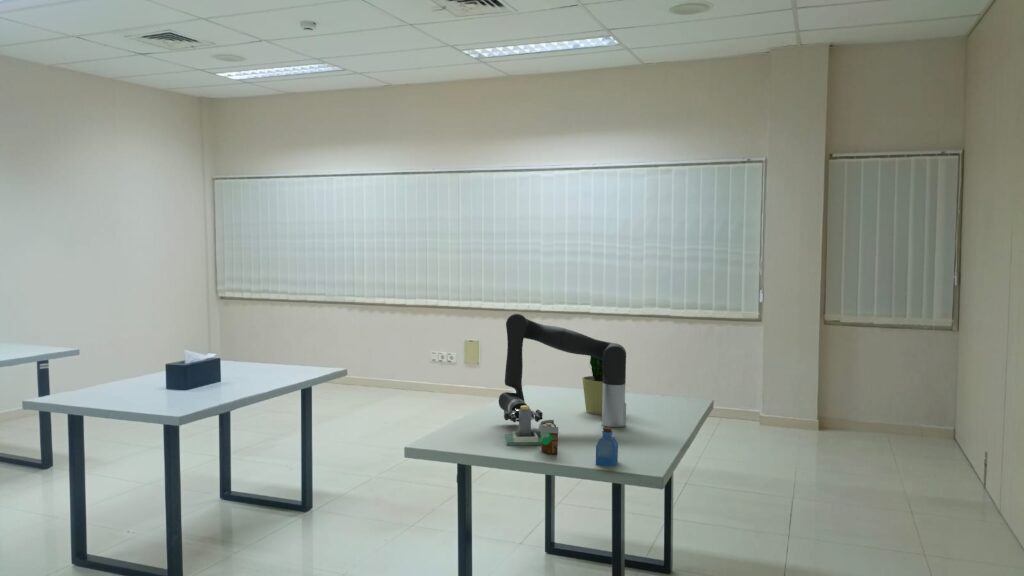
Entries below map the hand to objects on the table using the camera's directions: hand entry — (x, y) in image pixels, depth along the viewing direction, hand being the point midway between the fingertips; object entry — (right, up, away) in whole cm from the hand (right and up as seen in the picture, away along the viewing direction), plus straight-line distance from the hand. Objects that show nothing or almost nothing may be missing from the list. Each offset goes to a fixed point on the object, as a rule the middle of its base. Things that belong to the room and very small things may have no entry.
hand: (526, 419), depth 270 cm
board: (-1, -9, +4) cm, 10 cm away
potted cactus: (+33, -7, +57) cm, 66 cm away
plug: (-1, -8, +2) cm, 8 cm away
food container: (+7, -10, -9) cm, 15 cm away
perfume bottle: (+27, -11, -23) cm, 37 cm away
